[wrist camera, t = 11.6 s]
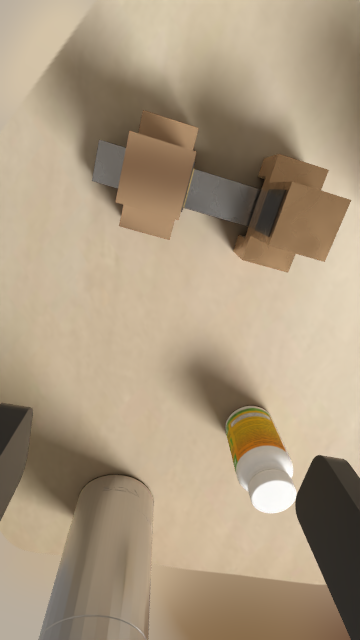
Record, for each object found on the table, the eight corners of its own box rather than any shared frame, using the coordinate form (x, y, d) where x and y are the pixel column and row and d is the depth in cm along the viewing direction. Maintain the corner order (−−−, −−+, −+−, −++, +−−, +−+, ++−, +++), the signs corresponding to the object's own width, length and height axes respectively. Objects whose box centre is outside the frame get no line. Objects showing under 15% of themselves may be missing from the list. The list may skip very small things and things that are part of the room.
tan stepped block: (170, 233, 30) (171, 251, 22) (124, 221, 30) (108, 234, 21) (195, 136, 28) (208, 114, 19) (146, 120, 27) (137, 90, 19)
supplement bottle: (216, 417, 38) (232, 490, 29) (259, 396, 37) (290, 464, 28) (237, 450, 40) (258, 528, 31) (279, 430, 39) (314, 504, 30)
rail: (303, 270, 32) (351, 300, 24) (91, 211, 29) (61, 221, 21) (339, 182, 29) (409, 180, 21) (109, 108, 27) (84, 72, 18)
